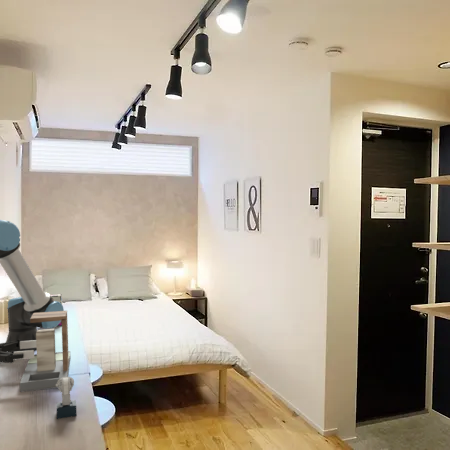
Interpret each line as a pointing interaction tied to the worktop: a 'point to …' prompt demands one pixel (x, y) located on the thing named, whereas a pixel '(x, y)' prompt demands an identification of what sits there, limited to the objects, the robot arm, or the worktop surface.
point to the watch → (66, 398)
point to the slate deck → (43, 374)
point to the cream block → (45, 349)
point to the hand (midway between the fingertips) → (36, 348)
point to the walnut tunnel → (58, 317)
